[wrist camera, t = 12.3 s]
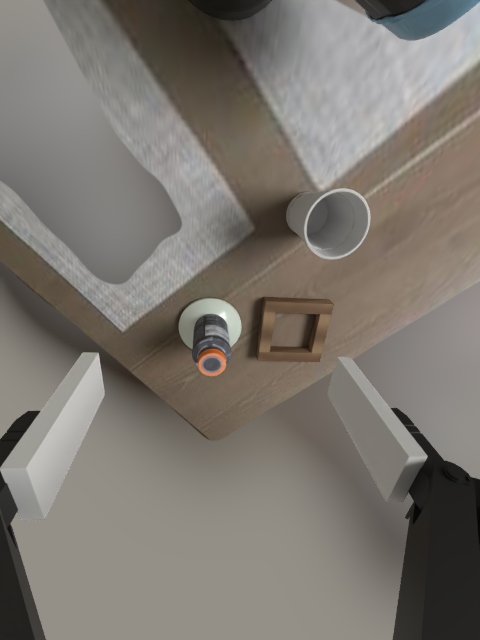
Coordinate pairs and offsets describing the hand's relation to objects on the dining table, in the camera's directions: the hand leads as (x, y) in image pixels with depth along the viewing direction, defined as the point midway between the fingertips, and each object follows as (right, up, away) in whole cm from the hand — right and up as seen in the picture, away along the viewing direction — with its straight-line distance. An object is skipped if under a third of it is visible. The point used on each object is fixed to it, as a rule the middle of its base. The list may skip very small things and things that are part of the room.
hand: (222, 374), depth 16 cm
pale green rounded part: (-4, +2, +35) cm, 36 cm away
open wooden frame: (+11, +2, +37) cm, 39 cm away
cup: (+11, +20, +28) cm, 36 cm away
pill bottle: (-4, +2, +35) cm, 35 cm away
